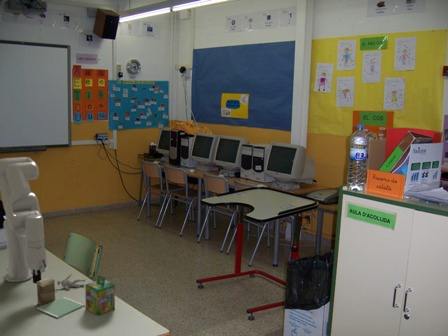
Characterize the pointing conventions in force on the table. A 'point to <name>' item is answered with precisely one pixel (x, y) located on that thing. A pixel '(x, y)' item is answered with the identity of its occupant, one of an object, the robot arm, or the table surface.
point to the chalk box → (100, 296)
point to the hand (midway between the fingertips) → (37, 282)
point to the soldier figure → (70, 283)
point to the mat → (60, 307)
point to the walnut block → (46, 291)
